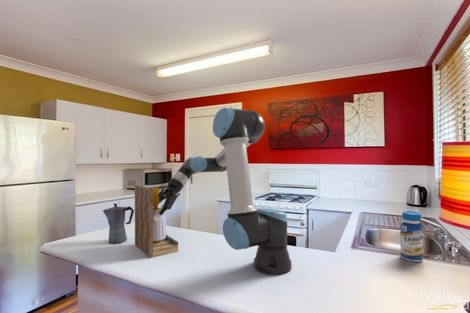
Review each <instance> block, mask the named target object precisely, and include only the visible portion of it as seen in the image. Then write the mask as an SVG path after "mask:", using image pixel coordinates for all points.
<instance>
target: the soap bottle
mask: <svg viewBox="0 0 470 313" xmlns="http://www.w3.org/2000/svg"><path fill="white" fill-rule="evenodd" d="M151 189H152V190H153V205H154V208H153V217H154V215H155V214H156V213H157V212H158V210H159V209H160V208H161V207H159V204H161V203H162V202H160V201H159V192H160V191H161V190H162V188H161V187H153V188H151ZM166 220H167V218H166V215H164V214H163V215H162V216H161V217H160V218H159V220H158V221H157V222H156V221H155V220H154V219H153V241H160V240H163V239H165V238H166V235H167V222H166Z"/></svg>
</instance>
